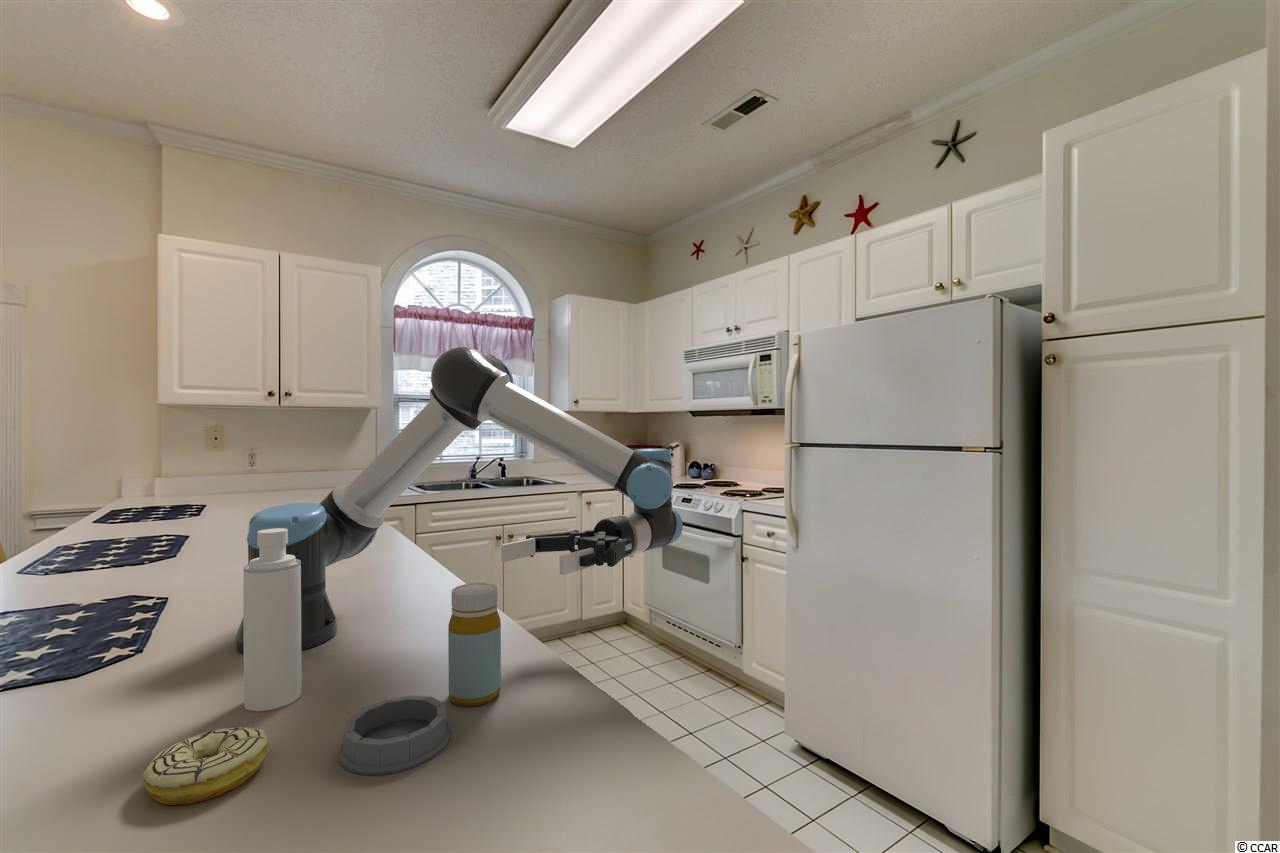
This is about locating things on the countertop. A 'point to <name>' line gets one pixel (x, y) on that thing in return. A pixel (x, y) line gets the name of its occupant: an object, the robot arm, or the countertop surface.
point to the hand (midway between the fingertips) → (530, 559)
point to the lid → (394, 735)
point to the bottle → (474, 645)
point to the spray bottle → (272, 624)
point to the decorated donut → (205, 765)
